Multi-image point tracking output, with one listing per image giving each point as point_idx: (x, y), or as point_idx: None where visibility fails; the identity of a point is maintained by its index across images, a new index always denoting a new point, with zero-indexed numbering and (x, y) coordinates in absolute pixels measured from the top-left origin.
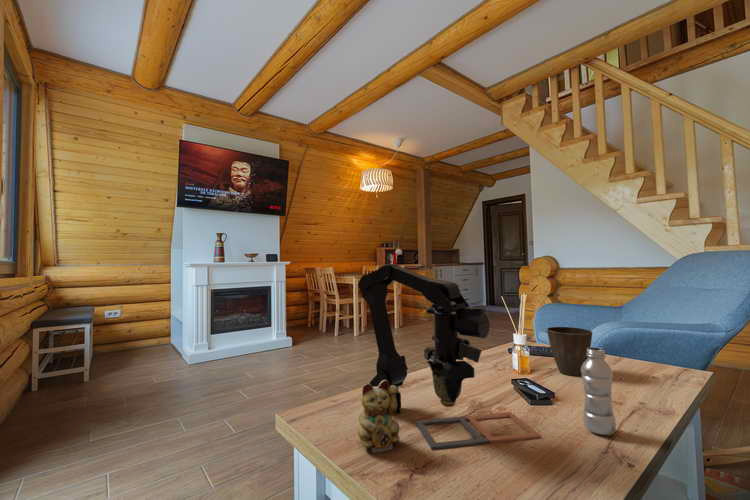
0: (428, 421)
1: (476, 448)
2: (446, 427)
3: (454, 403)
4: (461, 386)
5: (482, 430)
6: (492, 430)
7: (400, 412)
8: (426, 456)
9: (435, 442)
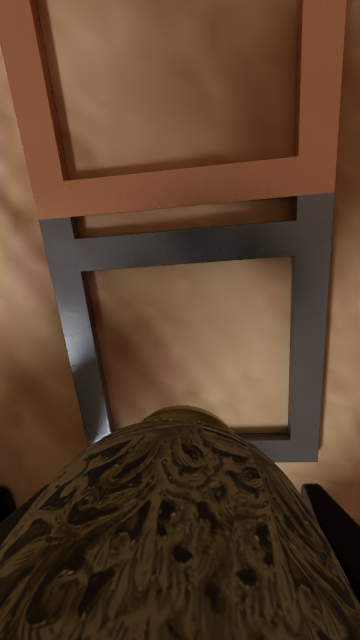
0: (98, 417)
1: (354, 280)
2: (139, 347)
3: (231, 430)
4: (250, 496)
5: (217, 186)
6: (195, 110)
7: (5, 490)
8: (352, 480)
9: (287, 440)
